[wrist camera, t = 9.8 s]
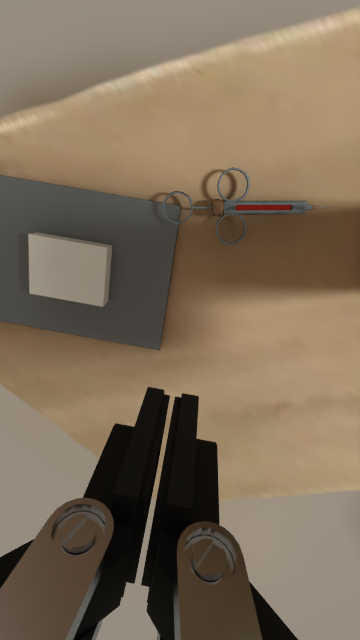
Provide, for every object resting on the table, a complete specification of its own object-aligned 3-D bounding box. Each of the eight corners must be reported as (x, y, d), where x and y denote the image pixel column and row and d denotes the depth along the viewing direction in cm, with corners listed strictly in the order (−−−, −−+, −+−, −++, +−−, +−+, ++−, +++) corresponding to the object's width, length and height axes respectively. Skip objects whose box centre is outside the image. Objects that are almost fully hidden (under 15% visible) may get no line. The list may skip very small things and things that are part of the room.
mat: (181, 206, 35) (180, 206, 35) (159, 348, 42) (159, 350, 41) (-9, 173, 36) (-12, 173, 35) (-1, 319, 42) (-3, 320, 42)
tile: (107, 247, 35) (28, 233, 35) (103, 306, 37) (29, 293, 38) (113, 244, 37) (38, 232, 37) (108, 301, 40) (39, 288, 40)
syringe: (323, 243, 35) (329, 245, 34) (164, 243, 36) (162, 245, 35) (335, 167, 33) (342, 165, 31) (162, 169, 34) (160, 167, 32)
